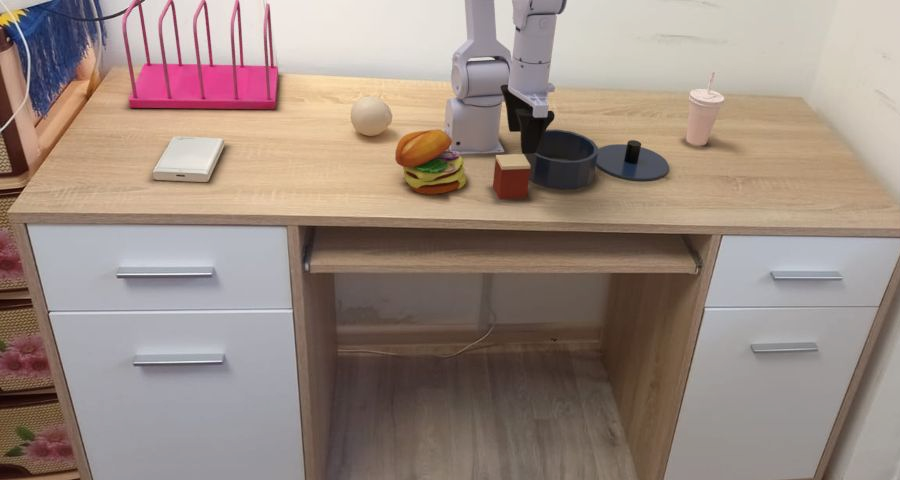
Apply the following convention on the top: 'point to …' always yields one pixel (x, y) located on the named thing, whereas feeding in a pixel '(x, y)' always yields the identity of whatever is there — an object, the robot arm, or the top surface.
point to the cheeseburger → (430, 162)
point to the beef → (511, 176)
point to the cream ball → (370, 116)
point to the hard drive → (189, 159)
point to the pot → (559, 171)
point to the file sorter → (202, 73)
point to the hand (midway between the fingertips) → (522, 141)
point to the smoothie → (702, 113)
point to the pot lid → (631, 162)
